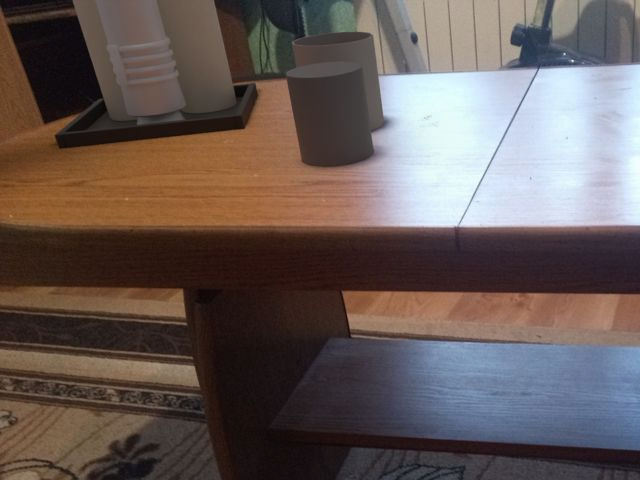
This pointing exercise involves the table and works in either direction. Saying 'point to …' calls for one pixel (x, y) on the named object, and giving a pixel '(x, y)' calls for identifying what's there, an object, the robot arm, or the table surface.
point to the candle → (142, 60)
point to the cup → (346, 50)
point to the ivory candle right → (198, 54)
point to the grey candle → (330, 113)
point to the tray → (103, 130)
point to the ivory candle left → (101, 59)
